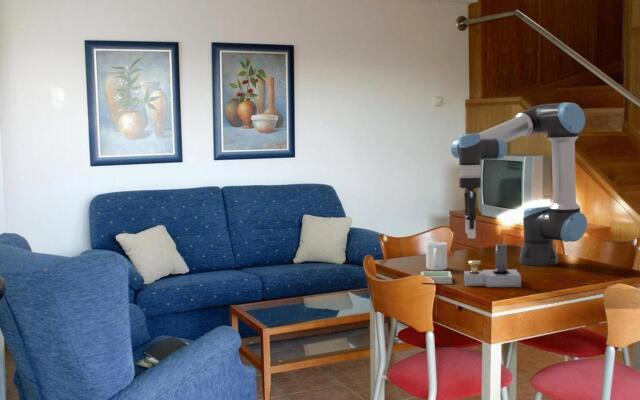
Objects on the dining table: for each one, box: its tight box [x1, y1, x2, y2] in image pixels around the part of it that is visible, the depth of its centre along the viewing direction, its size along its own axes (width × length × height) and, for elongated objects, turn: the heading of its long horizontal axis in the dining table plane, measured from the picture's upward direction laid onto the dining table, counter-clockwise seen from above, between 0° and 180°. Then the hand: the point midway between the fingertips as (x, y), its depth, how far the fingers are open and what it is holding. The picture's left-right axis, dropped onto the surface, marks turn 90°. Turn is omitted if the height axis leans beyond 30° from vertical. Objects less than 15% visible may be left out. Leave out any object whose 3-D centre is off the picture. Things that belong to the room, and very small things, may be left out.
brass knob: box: [467, 259, 482, 274], centre depth 275 cm, size 4×4×5 cm
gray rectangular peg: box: [494, 243, 508, 274], centre depth 274 cm, size 4×4×14 cm
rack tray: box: [420, 270, 453, 285], centre depth 283 cm, size 11×11×2 cm
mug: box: [425, 241, 448, 271], centre depth 305 cm, size 12×8×10 cm
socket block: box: [463, 268, 522, 288], centre depth 275 cm, size 19×12×4 cm, turn 84°
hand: (470, 235), depth 275 cm, fingers open, 13 cm apart
